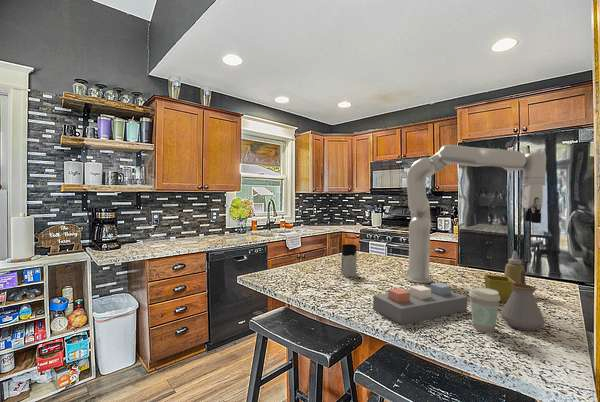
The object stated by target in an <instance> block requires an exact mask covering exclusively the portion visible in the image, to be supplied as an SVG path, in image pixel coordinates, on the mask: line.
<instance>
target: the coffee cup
mask: <svg viewBox="0 0 600 402" xmlns="http://www.w3.org/2000/svg"><path fill="white" fill-rule="evenodd" d="M468 295H469V299H470V301H469V302H470V311H471V321H472V322H471V323H472V327H473V328H474V329H475V330H477V331H480V332H482V333H483V332H484V333H493V332H495V330H496V329H495V328H496V323H497V318H498V311H499V306H500V302H499V301H500V300H501V299H500V296H499V292H498V291H496V290H493V289H489V288H485V286H484V287H482V286H472V287H471V288H470V289H469V292H468Z"/></svg>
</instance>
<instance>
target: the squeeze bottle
mask: <svg viewBox="0 0 600 402" xmlns="http://www.w3.org/2000/svg"><path fill="white" fill-rule="evenodd" d="M507 262H508V263H506V264H505V268H504V274H503V276H505V277H509V278H510V279H512V280H513V281H514V282H515V283H518V284H521V275H520V274H522V273H521V271H524V274H525V275H526V273H525V272H526V270H525V266H524V265H522V259H519V254H518V251H516V250H513V252H512V256H511V258H508V261H507ZM519 272H520V274H519ZM524 277H525V278H526V276H524ZM524 284H525V285H527V284H526V281H525V283H524Z"/></svg>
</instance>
